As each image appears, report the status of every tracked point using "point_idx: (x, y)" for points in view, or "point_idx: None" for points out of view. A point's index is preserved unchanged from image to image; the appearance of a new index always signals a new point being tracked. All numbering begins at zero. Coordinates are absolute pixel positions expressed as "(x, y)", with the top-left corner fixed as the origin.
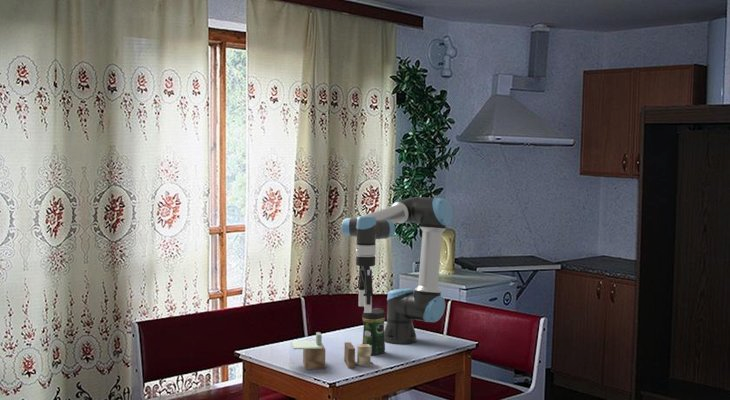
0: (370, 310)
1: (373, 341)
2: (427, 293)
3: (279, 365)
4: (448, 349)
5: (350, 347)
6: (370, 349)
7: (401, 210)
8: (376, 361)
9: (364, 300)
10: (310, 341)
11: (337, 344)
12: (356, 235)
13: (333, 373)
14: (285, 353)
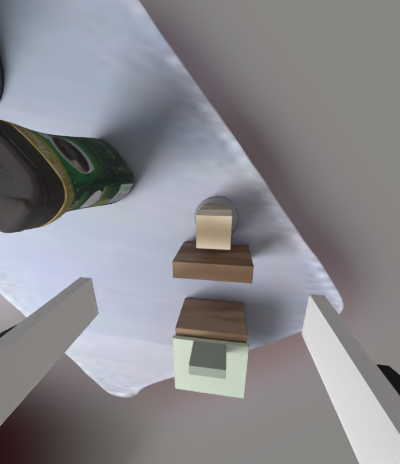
0: (330, 313)
1: (114, 180)
2: None
3: None
4: None
5: (236, 275)
6: (231, 214)
7: None
8: (192, 181)
9: (347, 435)
10: (181, 356)
11: (37, 240)
12: None
13: (284, 295)
14: (121, 342)
